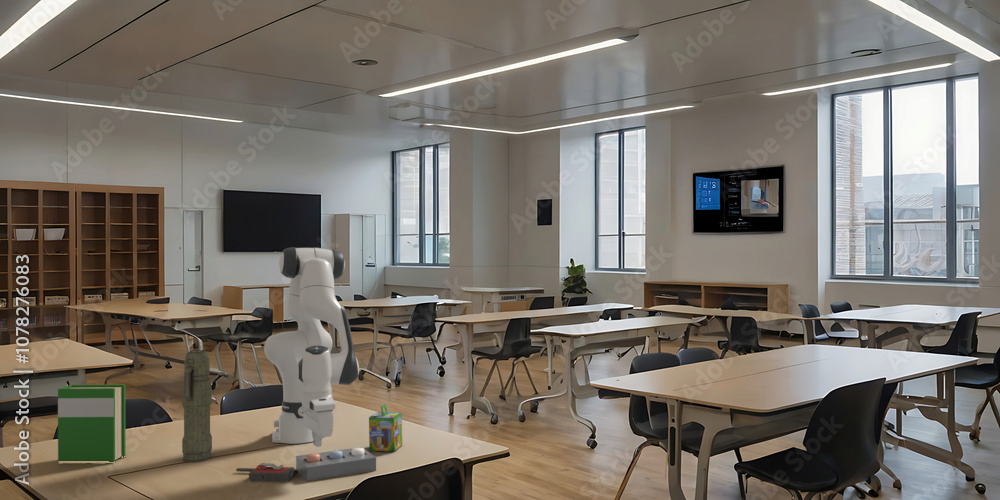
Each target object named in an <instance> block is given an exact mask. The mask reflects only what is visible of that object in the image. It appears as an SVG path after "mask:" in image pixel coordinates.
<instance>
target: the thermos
mask: <svg viewBox="0 0 1000 500" xmlns="http://www.w3.org/2000/svg"><path fill="white" fill-rule="evenodd" d="M183 361H184V362H183V363H184V365H183V366H184V367H183V368H184V372H183V373H184V376H183V377H184V381H183V387H182V389H181V390H182V396H181V398H182V408H183V432H184V433H183V437H182V441H181V447H182V448H181V449H182V451H181V452H182V461H183V462H186V463H197V462H205V461H208V460H210V459H211V458H212V449H213V436H212V432H211V406H212V405H211V404H212V403H213V402H212V400H213V399H212V398H213V397H212V396H213V395H212V393H213V392H212V390H213V389H212V385H211V381H210V380H211V379H210V372H211V371H210V369H211V368H210V356H209V353H208V351H205V350H203V349H202V350H201V349H200V350H199V349H197V350H189V352H187V353H186V355H185V357H184V360H183Z"/></svg>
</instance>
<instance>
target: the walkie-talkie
mask: <svg viewBox="0 0 1000 500" xmlns="http://www.w3.org/2000/svg"><path fill="white" fill-rule="evenodd" d="M235 471H236V472H243V473H245V472H247V473H248V472H249V474H248V478H249V479H250V482H272V483H273V482H281V483H282V482H283V483H287V482H289V481H290V480H292V479H293V478H294V477H295V475H298V474H300V473H299V471H298V470H297V469H296V468H295V466H284V464H280V465H279V466H278V465H276V464H275V463H271V462H269V463H266V462H265V463H263V462H261V463H260V464H258V465H257V466H256V467H255V468H254V467H253V468H251V467H237V468H236V469H235ZM293 476H294V477H293Z"/></svg>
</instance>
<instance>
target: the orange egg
mask: <svg viewBox="0 0 1000 500" xmlns="http://www.w3.org/2000/svg"><path fill="white" fill-rule="evenodd" d="M318 453H319V452H317V453H316V452H312V453H308V454H305V455H306V462H307V463H312V462H319V461H320V454H318Z"/></svg>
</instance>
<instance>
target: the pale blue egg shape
mask: <svg viewBox="0 0 1000 500" xmlns="http://www.w3.org/2000/svg"><path fill="white" fill-rule="evenodd" d="M339 450H340V449H336V450H330V451H331V452H329V451H328V452H329V459H330V460H333V459H340V458H343V452H342V451H339Z"/></svg>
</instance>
